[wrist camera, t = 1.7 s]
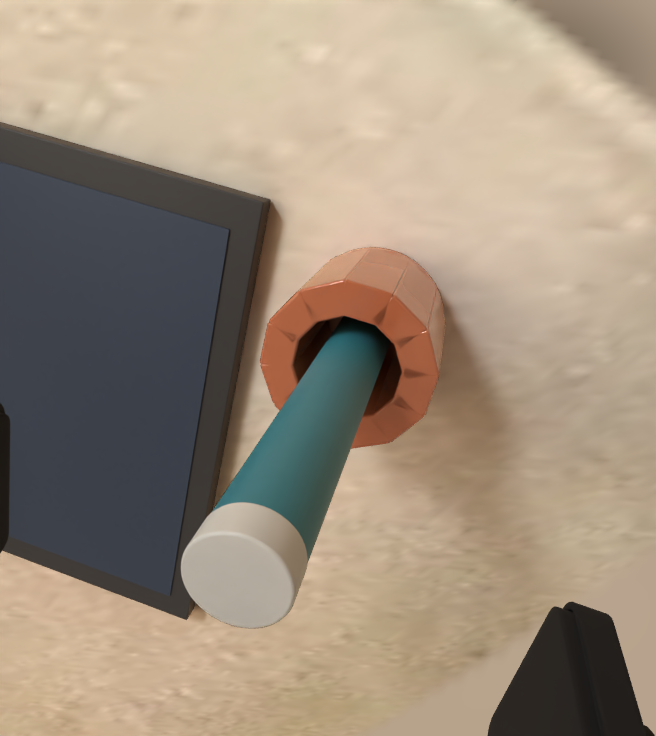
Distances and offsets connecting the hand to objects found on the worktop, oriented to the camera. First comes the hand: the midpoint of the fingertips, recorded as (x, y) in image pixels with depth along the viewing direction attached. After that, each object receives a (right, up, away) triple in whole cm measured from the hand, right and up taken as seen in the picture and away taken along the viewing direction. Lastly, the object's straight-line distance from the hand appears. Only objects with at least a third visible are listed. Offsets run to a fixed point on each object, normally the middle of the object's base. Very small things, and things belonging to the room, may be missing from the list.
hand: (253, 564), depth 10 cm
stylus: (+3, +5, +11) cm, 12 cm away
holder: (+3, +5, +11) cm, 13 cm away
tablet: (-9, +2, +15) cm, 18 cm away
